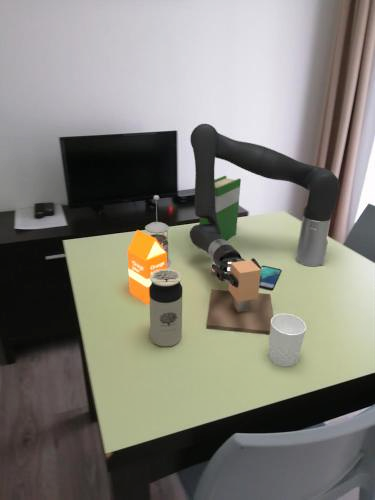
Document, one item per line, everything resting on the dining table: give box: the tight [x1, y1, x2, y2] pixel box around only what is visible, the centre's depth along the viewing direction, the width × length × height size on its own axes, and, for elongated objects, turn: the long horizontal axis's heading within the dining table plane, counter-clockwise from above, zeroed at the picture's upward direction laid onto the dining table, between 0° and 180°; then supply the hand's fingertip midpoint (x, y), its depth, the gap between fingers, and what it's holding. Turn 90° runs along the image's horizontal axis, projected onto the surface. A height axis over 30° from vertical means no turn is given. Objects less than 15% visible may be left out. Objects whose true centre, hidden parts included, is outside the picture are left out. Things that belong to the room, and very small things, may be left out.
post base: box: [206, 288, 274, 335], centre depth 101 cm, size 18×18×10 cm
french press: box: [144, 194, 172, 268], centre depth 124 cm, size 10×12×25 cm
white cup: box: [267, 313, 307, 368], centre depth 85 cm, size 8×8×10 cm
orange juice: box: [126, 229, 168, 306], centre depth 106 cm, size 8×9×20 cm
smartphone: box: [259, 265, 283, 292], centre depth 121 cm, size 7×1×15 cm
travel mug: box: [149, 268, 183, 347], centre depth 89 cm, size 8×8×18 cm
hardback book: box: [198, 175, 242, 242], centre depth 143 cm, size 18×7×24 cm, turn 145°
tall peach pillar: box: [228, 259, 261, 302], centre depth 99 cm, size 6×6×9 cm
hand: (248, 282), depth 96 cm, fingers closed on tall peach pillar, 6 cm apart
